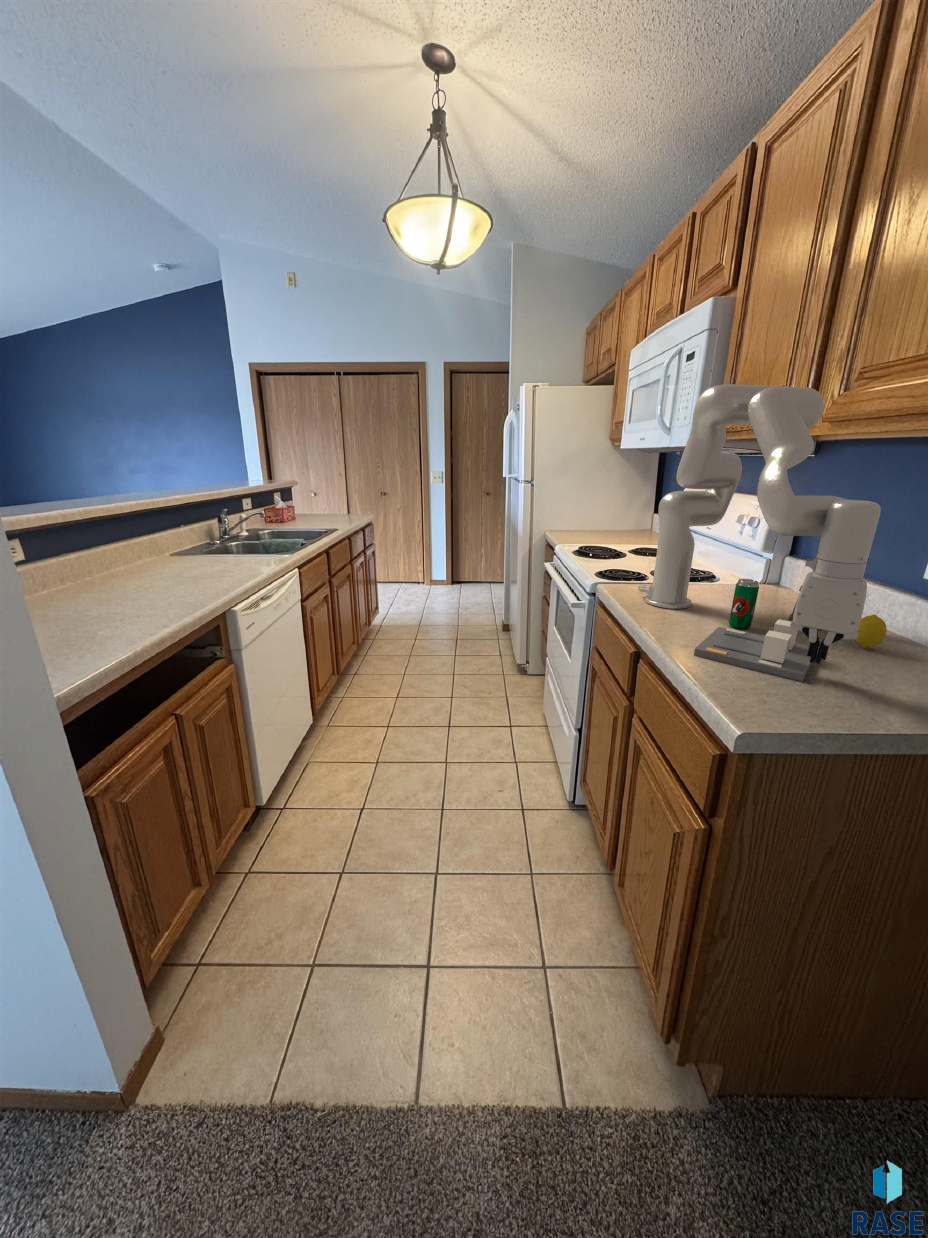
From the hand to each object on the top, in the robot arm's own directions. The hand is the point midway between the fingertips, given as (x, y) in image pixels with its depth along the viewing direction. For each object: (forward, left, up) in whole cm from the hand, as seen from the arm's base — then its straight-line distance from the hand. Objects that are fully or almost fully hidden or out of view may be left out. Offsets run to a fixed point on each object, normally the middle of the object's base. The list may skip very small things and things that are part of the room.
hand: (815, 661), depth 97 cm
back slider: (-7, +9, -1) cm, 12 cm away
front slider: (-7, 0, -1) cm, 7 cm away
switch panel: (-11, +5, -3) cm, 12 cm away
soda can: (-18, +22, -3) cm, 29 cm away
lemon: (+7, +25, -3) cm, 26 cm away
